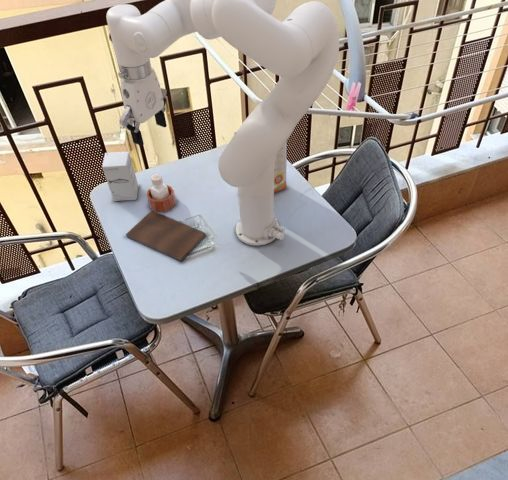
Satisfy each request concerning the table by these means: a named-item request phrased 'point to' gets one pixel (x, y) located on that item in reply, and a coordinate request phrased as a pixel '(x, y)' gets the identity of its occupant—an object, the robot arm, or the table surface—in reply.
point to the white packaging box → (120, 175)
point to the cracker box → (280, 168)
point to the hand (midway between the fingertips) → (150, 134)
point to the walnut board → (166, 235)
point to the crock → (162, 201)
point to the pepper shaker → (158, 188)
